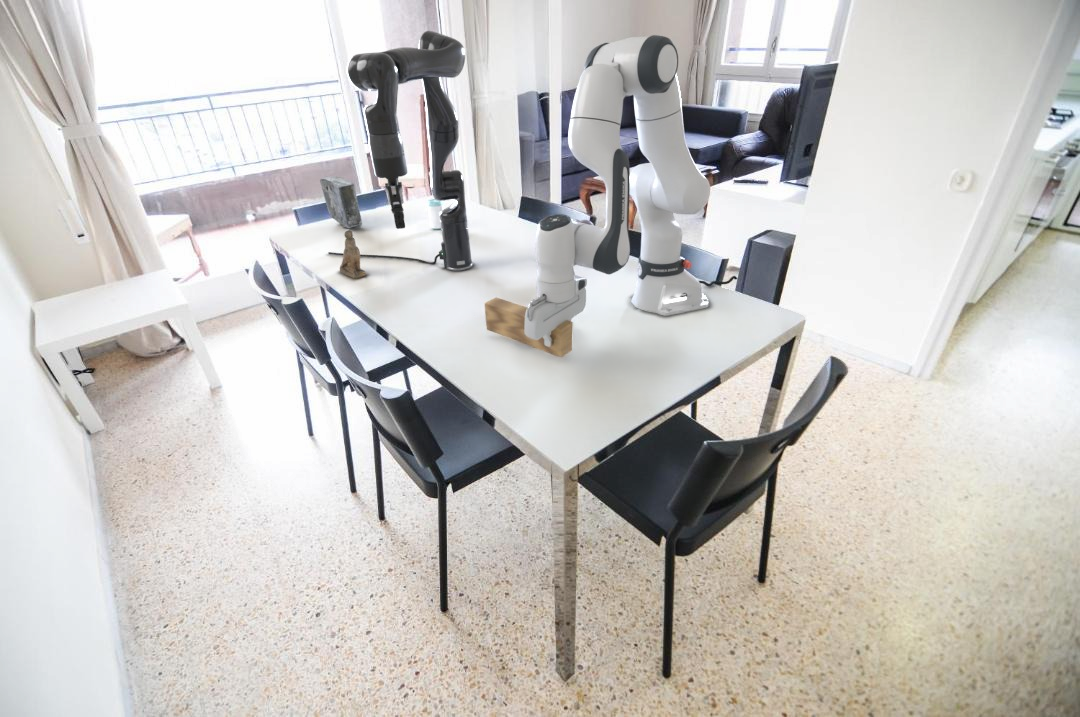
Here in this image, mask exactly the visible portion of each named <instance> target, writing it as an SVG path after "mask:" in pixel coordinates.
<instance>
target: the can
mask: <svg viewBox="0 0 1080 717" xmlns="http://www.w3.org/2000/svg"><path fill="white" fill-rule="evenodd" d="M426 207H427V211H428V212H427V213H428V219H429V226H430V228H431V229H433V230H442V229H441V223H440V212H441V211H442V210H444V209H445V205H444V201H437V200H436V199H435V198H432V199H428V201H427V204H426Z"/></svg>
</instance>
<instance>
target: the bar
mask: <svg viewBox="0 0 1080 717" xmlns="http://www.w3.org/2000/svg"><path fill="white" fill-rule="evenodd" d="M528 307H529V306H524V305H521V304H518V303H515V302H512V301H509V300H505V299H503V298H500V297H494V298H492V299H490V300H488V301H485V302H484V314H485V326H486V330H487V331H489V332H491V333H494V334H497V335H500V336H503V337H505V338H508V339H510V340H512V341H515V342H518V343H521V344H524V345H526V346H529V347H532V348H534V349H538V350H540V351H542V352H545V353H547V354H550V355H553V356H556V357H559V358H563V357H564V356H566V355H567V354H569V353H570V352H572V351H573V321H572V320H571V321H568V320H567V321H566V322H564V323H562V324H561V325H559V326H558V327H556V329H554V330H553V331H551V335H550V337H551V338H553V339H554V344H553V345H552V346H550V347H548V346H545V344H544V338H543V337H542V338H540V339H539V340H534V339H531V338H529V337H527V336H526V335H525V332H524V326H525V314H526V310H527V308H528Z"/></svg>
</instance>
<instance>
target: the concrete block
mask: <svg viewBox="0 0 1080 717" xmlns="http://www.w3.org/2000/svg"><path fill="white" fill-rule="evenodd" d="M319 183H320V185H321V190H322V193H323V197H324V202H325V204H326V208H327V211H328V215H329V216H330V217H331V218H332V219H333V220H335V221H336V222H337V223H339V224H340V225H341V226H342V227H344V228H346V229H351V228H353V227H358V226H361V225H362V224H363V222H362V221H363V220H362V215H361V210H360V207H359V200H358V196H357V192H356V186H355V184H354V183H353V182H352V180H351V181H350V180H349V179H347V178H344V177H341V176H337V175H336V176H335V175H334V176H326V177H322V178H320V179H319Z"/></svg>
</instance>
